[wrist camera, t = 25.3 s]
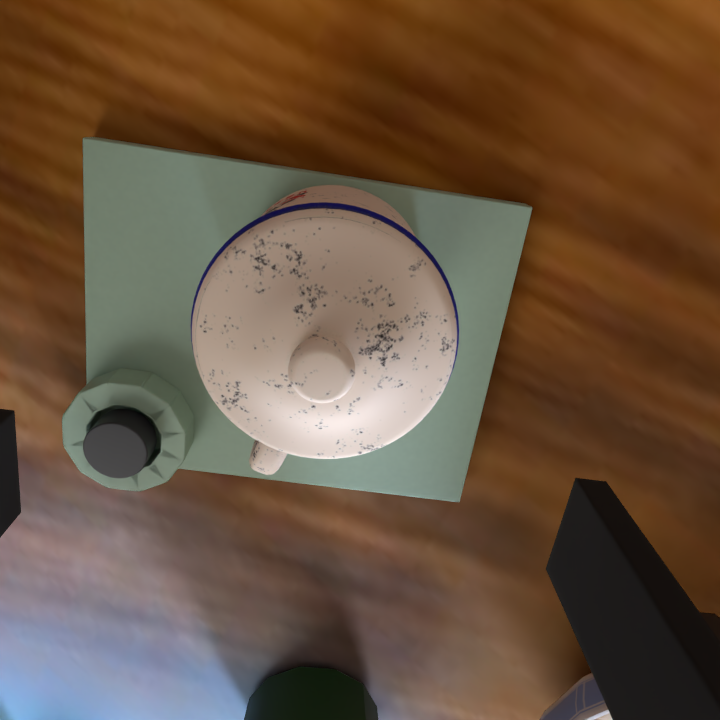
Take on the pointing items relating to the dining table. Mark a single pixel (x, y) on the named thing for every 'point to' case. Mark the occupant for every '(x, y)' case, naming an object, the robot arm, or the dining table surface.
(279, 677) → the bottle
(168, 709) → the dining table surface
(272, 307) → the teacup with lid
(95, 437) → the button
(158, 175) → the scale
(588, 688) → the ramen bowl
